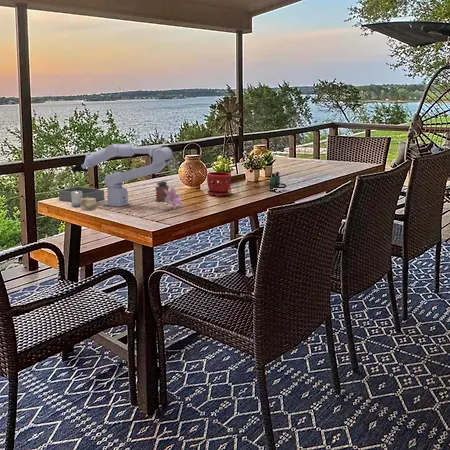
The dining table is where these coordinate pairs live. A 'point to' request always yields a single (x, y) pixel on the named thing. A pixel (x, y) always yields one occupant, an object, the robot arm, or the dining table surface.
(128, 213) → the dining table surface
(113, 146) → the robot arm
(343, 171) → the dining table surface
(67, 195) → the tote
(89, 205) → the maple cube
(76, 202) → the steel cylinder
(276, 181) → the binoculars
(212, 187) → the plant pot
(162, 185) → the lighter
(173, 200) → the lily
